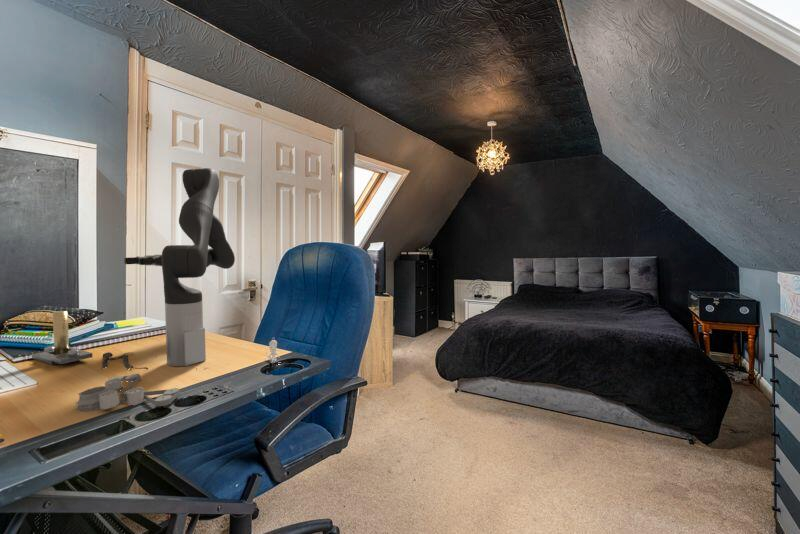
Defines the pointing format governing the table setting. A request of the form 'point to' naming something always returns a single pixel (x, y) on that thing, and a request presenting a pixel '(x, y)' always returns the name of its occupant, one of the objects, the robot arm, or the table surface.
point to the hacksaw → (125, 358)
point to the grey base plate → (61, 356)
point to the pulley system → (122, 395)
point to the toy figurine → (273, 350)
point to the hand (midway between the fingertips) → (132, 261)
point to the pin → (60, 332)
